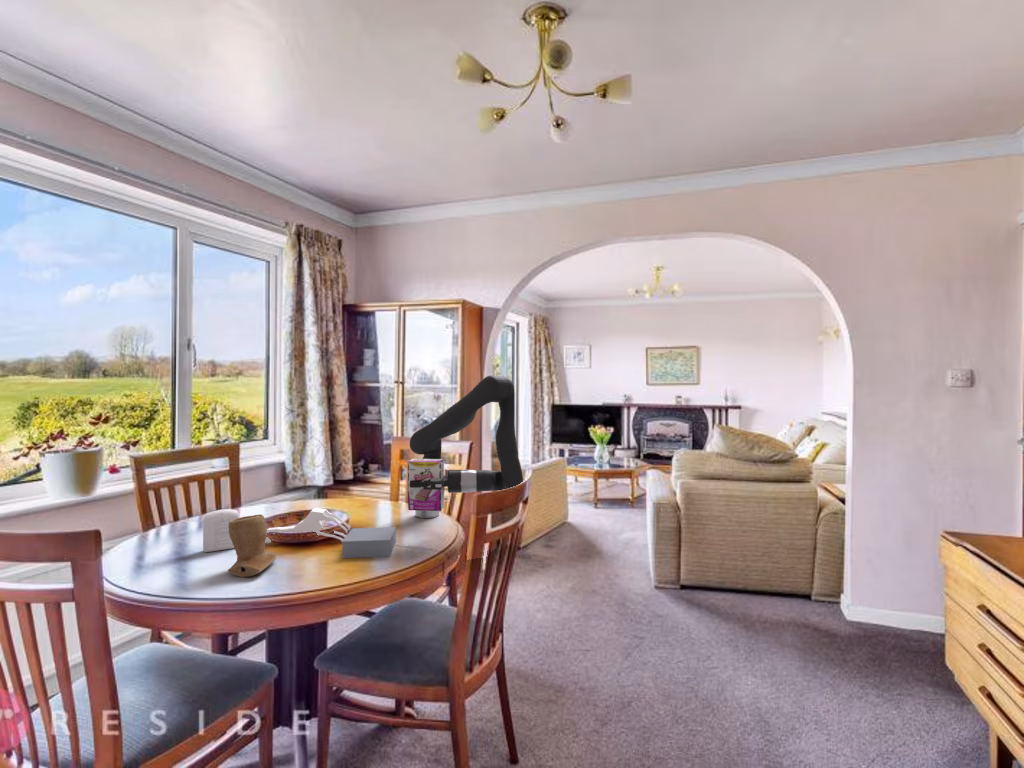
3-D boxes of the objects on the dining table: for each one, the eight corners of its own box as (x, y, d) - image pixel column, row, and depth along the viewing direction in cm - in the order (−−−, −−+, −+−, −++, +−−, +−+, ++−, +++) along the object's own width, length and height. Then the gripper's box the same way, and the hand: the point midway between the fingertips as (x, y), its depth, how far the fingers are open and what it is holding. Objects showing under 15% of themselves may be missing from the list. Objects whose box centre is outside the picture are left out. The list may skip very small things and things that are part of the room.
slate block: (352, 543, 177) (351, 528, 177) (395, 542, 178) (395, 527, 178) (342, 558, 163) (342, 541, 163) (390, 556, 164) (390, 539, 164)
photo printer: (239, 544, 177) (238, 506, 177) (240, 547, 173) (240, 509, 173) (202, 550, 171) (202, 510, 171) (203, 553, 168) (203, 513, 167)
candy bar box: (407, 511, 178) (406, 461, 177) (411, 506, 183) (410, 458, 182) (441, 511, 177) (440, 461, 176) (444, 507, 182) (444, 458, 181)
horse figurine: (335, 564, 183) (263, 538, 181) (354, 519, 183) (282, 492, 181) (331, 570, 178) (257, 543, 176) (350, 523, 178) (277, 495, 176)
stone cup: (240, 560, 161) (239, 510, 161) (281, 560, 162) (281, 509, 161) (214, 580, 146) (214, 524, 146) (260, 579, 146) (259, 523, 146)
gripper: (462, 466, 188) (412, 466, 186) (462, 473, 174) (408, 474, 172) (462, 487, 188) (412, 488, 187) (462, 497, 174) (408, 498, 172)
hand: (411, 482), depth 179 cm, fingers closed on candy bar box, 5 cm apart
